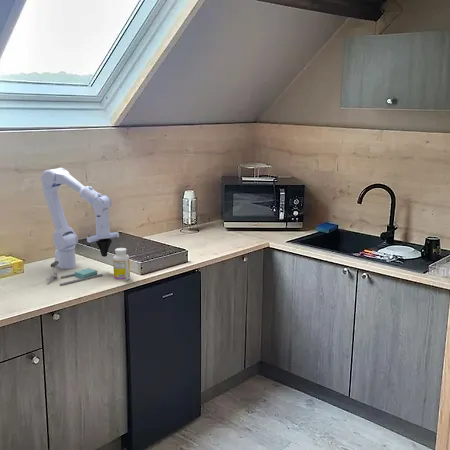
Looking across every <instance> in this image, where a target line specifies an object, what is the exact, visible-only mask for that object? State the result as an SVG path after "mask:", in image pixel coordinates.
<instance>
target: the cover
mask: <svg viewBox="0 0 450 450" xmlns="http://www.w3.org/2000/svg"><path fill="white" fill-rule="evenodd" d="M74 273H75V276H74V277H75V278H77V279H82V278H86V277H90V276H94V275H98V270H95V269H94V268H93V269H92V268H89V267H88V268H84V269H81V270H76V271H74Z"/></svg>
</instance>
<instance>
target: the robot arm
mask: <svg viewBox="0 0 450 450" xmlns="http://www.w3.org/2000/svg"><path fill="white" fill-rule="evenodd" d="M40 180H41V182H42V192H43V193H42V194H43V196H44V199H45V202H46V204H47V207H48V211H49V213H50V217H51V220H52V223H53V226H54V229H55V230H54V232H53V234H52V237H53V245H54V247H55V250H54V251H55V252H54V262H55V261H59V264H58V265H57V268H58V269H60V270H69V269H74V268H76V266H77V265H76V263H77V262H76V245H77V244H78V242H79V238H78V235H77V234H76V233H75V232H74V229H73V228H72V227H71V226H69V224H68V221H67V218H66V216H65V215H66V214H65V212H64V209H63V206H62V203H61V199H60V196H59V193H58V190H59V188H60V187H61V186H62V184H63V185H66V186H68V187H70V188H71V189H73V190H75V191H76V192H78V193H79V195H80V198H82V200H84V201H85V202H87V203H89V204H90V206H91V207H92V209H93V211H94V215H95V217H94V218H95V233H96V234H95V235H92V236H89V237H88V236H87V237H86V242H87V243H89V244H90V243H93V242H95V244H96V245H97V246H98V249H99V251H100V254H101V257H103V258H105V257H107V256H108V252H109V248H110V246H111V244H112V242H113V241H112V239H114V238H120V233H119V232H117V231H116V232H115V231H114V232H111V227H110V226H111V225H110V224H111V223H110V208H111V207H112V200H111V198H110V197H109V196H108V195H106V194H105V195H104V194H103V195H102V193H101V192H97V191H96V190H95V189H94V187H93V186H90V185H86V186H85V185H84V184H83V183H81V182H80V181H79V180H77V179H76V178H75V177H74V176H72V175H71V174H70V172H69V171H68V170H66V169H65V168H64V167H58V168H53V169H46V170H44V171H43V173H42V174H41V176H40Z"/></svg>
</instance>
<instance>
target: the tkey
mask: <svg viewBox="0 0 450 450" xmlns="http://www.w3.org/2000/svg"><path fill="white" fill-rule="evenodd" d="M58 264H59V261H55V260H54V261H53V262H52V263H50V268H52V270H53V273H52V274H50V275H48V276H47V277H46V278H45V279H46V280H45V281H46V282H50V281H52V280H53V279H54V280H56V279H57V280H58V266H57V265H58Z"/></svg>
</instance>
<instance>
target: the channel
mask: <svg viewBox="0 0 450 450" xmlns="http://www.w3.org/2000/svg"><path fill="white" fill-rule="evenodd" d="M70 277H71V278H72V277H75V272H74V273H70V274H67V275H66V274H65V275H62V276H61V275H60V278H61V279H67V278H70ZM100 277H103V273H99V274H98V273H97V275H94V276H90V277H86V278H82V279H81V278H77V279H72V280H69V281H65V282H61V283H59V286H60V287H64V286H68V285H71V284H76V283H79V282H84V281H88V280H91V279H96V278H100Z"/></svg>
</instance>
